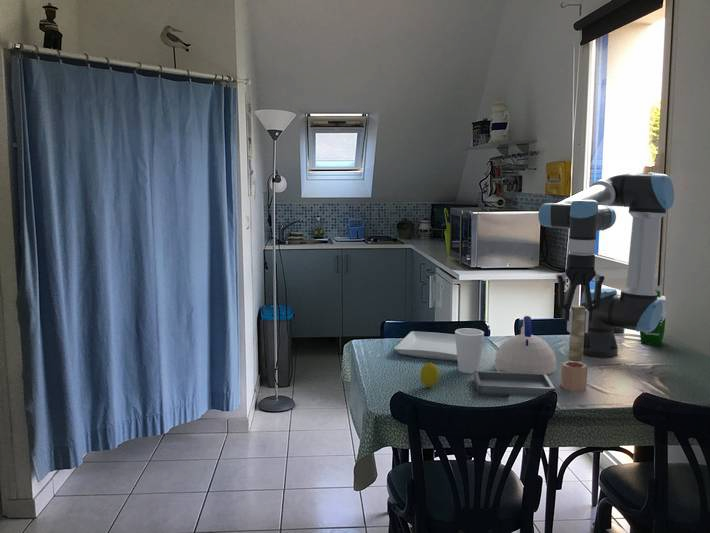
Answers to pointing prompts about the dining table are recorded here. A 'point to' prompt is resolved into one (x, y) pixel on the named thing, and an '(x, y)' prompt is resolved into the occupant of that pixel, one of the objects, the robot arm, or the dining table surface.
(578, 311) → the peg
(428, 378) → the lemon
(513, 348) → the kettle
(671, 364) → the dining table surface
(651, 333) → the milk carton
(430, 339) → the square plate
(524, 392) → the tray
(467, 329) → the foam cup
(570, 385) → the pink octagonal cup
